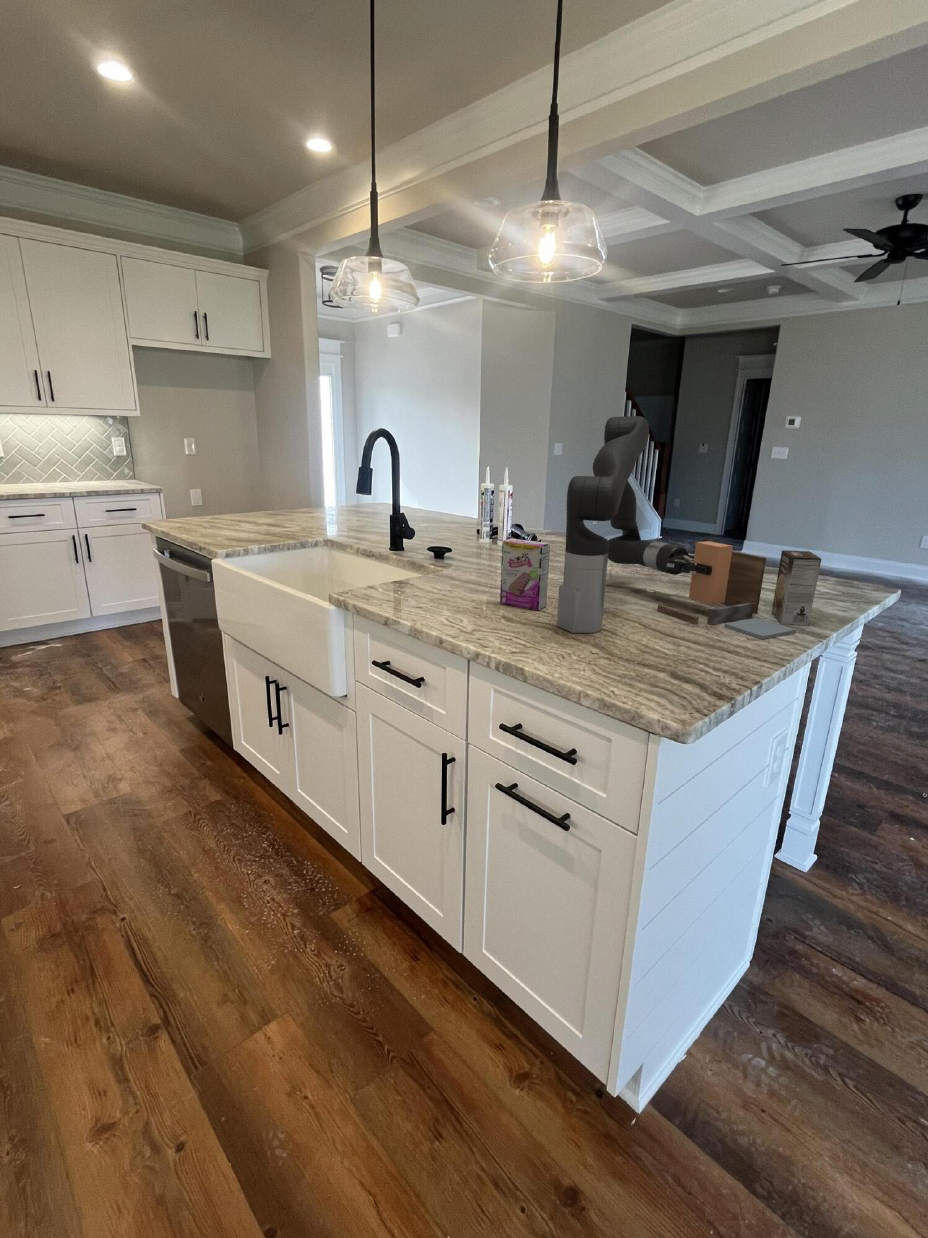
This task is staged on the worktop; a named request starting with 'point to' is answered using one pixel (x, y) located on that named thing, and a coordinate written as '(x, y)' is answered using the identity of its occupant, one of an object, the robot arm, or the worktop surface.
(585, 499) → the robot arm
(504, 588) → the candy bar box
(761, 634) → the mat
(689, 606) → the worktop surface
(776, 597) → the coffee box
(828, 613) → the worktop surface
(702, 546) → the orange block
